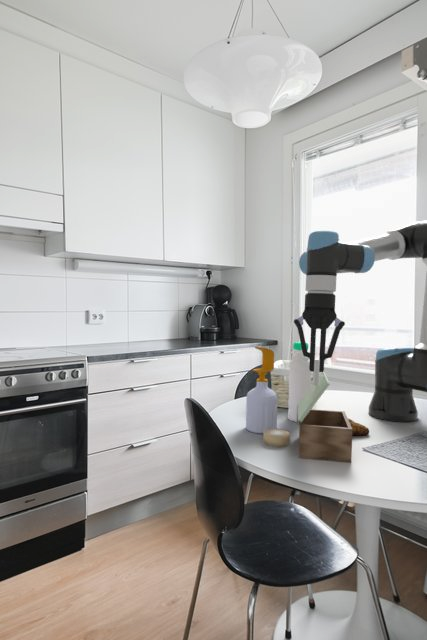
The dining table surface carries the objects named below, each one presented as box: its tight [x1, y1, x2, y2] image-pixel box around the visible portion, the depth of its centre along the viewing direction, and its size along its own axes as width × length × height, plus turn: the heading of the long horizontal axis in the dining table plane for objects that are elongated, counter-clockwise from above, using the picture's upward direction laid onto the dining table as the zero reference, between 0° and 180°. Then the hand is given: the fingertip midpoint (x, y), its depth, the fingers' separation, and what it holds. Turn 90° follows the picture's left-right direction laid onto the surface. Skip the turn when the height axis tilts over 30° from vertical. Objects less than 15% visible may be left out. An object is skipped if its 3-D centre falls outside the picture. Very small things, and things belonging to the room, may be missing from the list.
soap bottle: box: [245, 346, 278, 435], centre depth 119 cm, size 9×9×25 cm
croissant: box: [348, 418, 370, 436], centre depth 116 cm, size 14×7×5 cm, turn 81°
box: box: [298, 408, 353, 463], centre depth 104 cm, size 12×16×8 cm
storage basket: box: [270, 359, 314, 409], centre depth 153 cm, size 24×16×15 cm
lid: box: [296, 371, 331, 425], centre depth 104 cm, size 12×16×1 cm
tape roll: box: [262, 428, 291, 448], centre depth 108 cm, size 7×7×2 cm
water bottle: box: [287, 341, 311, 423], centre depth 129 cm, size 7×7×25 cm
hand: (315, 384), depth 104 cm, fingers closed
